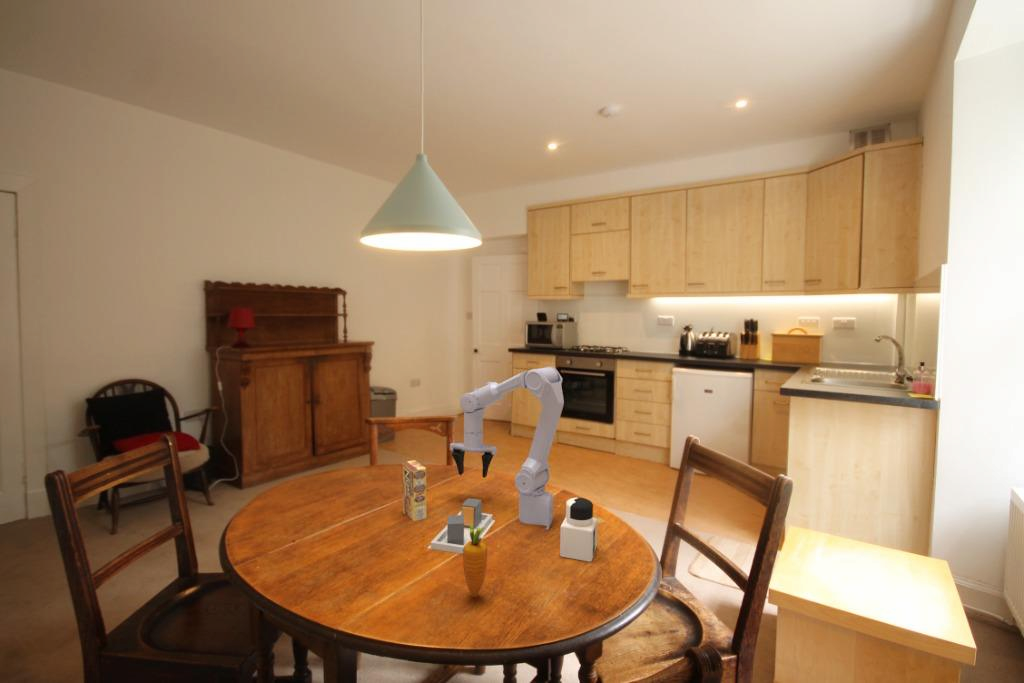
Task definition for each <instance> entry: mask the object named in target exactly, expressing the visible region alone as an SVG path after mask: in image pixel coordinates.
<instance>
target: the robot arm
mask: <svg viewBox="0 0 1024 683" xmlns="http://www.w3.org/2000/svg"><path fill="white" fill-rule="evenodd" d="M562 383H563V377H562V376H561V374H560V372H559V371H558V369H556V368H555V367H554V366H545V367H542V368H532V369H530V370H526V371H523V372H520V373H517V374H516V375H514V376H512V377H510V378H508V379H506V380H504V381H502V382H501V383H498V382H495V381H493V382H492V381H488V382H485V385H484V386H482V387H475V388H474V391H472V392H465V393H464V394H462V395H461V398H460V400H459V401H460V403H459V404H460V407H461V409H462V410H463V442H451V443H450V444H449V451H452V453H451V456H452V458H453V460H454V462H455V464H456V467H457V472H458V475H460V476H462V475H463V474H464V472H465V470H464V469H465V468H464V466H465V465H464V461H465V454H466V452H467V453H468V452H469V453H480V454H481V453H482V455H481V461H482V462H481V463H482V464H481V465H482V478H484V479H485V478H486V477H487V475H488V472H489V466H490V465H491V462H492V459H493V458H494V456H496V455H497V453H498V452H497V451H498V450H497V448H498V446H494V445H488V444H484V443H483V442H484V440H483V439H484V438H483V437H484V430H483V428H484V413H485V408H486V407H488V406H490V405H493V404H495V403H497V402H499V401H502V399H503V397H504V395H505V394H507V393H509V392H513V391H515V390H517V389H520V388H522V389H527V390H528V391H529V392H531V394H532V395H533V396H535V397H536V398H537V399H538V400H539V402H540V403H541V405H542V407H541V411H540V415H539V418H538V421H537V425H536V428H535V432H534V435H533V440H532V442H531V446H530V449H529V453H528V456H527V458H526V460H525V461H524V462H523V463H522V465H521V468H520V470H519V471H518V473H516V475H515V476H514V477H515V478H514V484H515V488H516V490H517V491H518V494H519V496H518V520H519V521H520V522H521V523H523V524H525V525H537V526H539V525H540V526H546V528H545V529H544V530H545V531H549V529H550V526H551V524H552V523H553V519H554V495H553V493H552V492H548V491H546V485H547V484H548V483H549V481H550V466H551V465H550V463H549V462H548V459H549V456H550V453H551V449H552V446H553V443H554V439H555V435H556V432H557V428H558V425H559V422H560V419H561V415H562V412H563V408H564V404H565V402H564V400H565V399H564V394H563V389H562V387H563V386H562V385H563V384H562Z"/></svg>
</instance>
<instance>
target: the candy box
mask: <svg viewBox="0 0 1024 683" xmlns="http://www.w3.org/2000/svg"><path fill="white" fill-rule="evenodd" d="M401 464H402V513H403V514H404V516H406V515H407V516H408V517H409V519H410V520H412V521H413V522H416V521H420V520H424V519H427V468H426V467H425V466H424V465H422V464H421V463H420V462H418V461H416V460H408V461H403V462H402V463H401Z"/></svg>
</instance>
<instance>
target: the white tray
mask: <svg viewBox="0 0 1024 683" xmlns="http://www.w3.org/2000/svg"><path fill="white" fill-rule="evenodd" d="M456 515H461V510H460V511H459V512H458V513H457V514H456ZM493 516H494V515H493V514H491V513H484V512H482V519H481V522H480V524H479V525H478V526H477V527H476V528H475V529H474V535H475V532H476V530H477V528H482V527H483V528H484V530H483V531H482V532H481V533H480V535H479V538H480V537H481V538H482V539H483V537H485V535H486V533H487V532H488V531H489V530H490V529H491V527H492V526H493V524H494V523H495V522H496V520H495V519H493ZM447 526H448V524H446V526H444V528H443V529H442V530H441V531H440V532H439V533H438V534H437V535H436V536H435V537H434V538H433V539H432V540H431V542H430V545H429V546H428V547H427V549H430V550H437V551H443V552H449V553H454V554H455V553H456V554H460V555H461V554H462V555H463V548H464V546H465V545H466V544H467V543H468V542H469V541H472V540H471V537H470V528H466V527H464V545H457V544H451V543H447ZM479 538H478V539H479Z"/></svg>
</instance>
